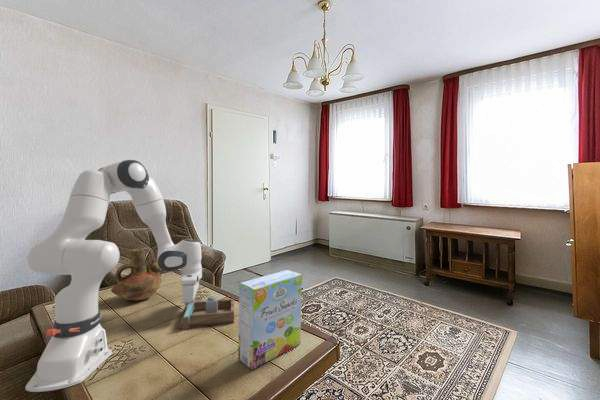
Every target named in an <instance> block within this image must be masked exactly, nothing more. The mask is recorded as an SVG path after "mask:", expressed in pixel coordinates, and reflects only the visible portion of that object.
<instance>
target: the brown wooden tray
mask: <svg viewBox="0 0 600 400" xmlns="http://www.w3.org/2000/svg"><path fill="white" fill-rule="evenodd" d="M188 305H189V303H187V305H186V308H185V309H184V310H185V311H184V313H183V315H182V317H181V320H180V322H179V324H178V330H184V331H185V330H189V329H191V328H195V327H205V326H216V325H225V324H234V323H235V298H226V299H218V312H216V313H206V300H202V301H201V300H200V298H199V297H198V298H195V303H194V305H193V312H192V315H190V320H189V317H185V318H184V315H185V312H186V310H187V308H188Z"/></svg>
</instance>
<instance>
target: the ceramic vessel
mask: <svg viewBox="0 0 600 400" xmlns="http://www.w3.org/2000/svg"><path fill="white" fill-rule="evenodd" d="M146 263H147V262H146V252H145V249H138V248H136V249H134V248H133V249H131V250H130V262H129V263H125V264H122V265H121V266H119V267H118V268H117V269H116V271H115V280H116V283H117V284H115V286H113V287H112V288H111V289H110V292H111V293H112V294H113V295H115V296H118V297H120V298H121V299H124V300H129V301H135V302H137V301H138V302H140V301H143V300H145V299H149V298H150V297H151V296H153V295H155V293H156V292H157V291H158V290H159V288H160V287H161V283H162V274H163V273H166V271H164V270H162V269H161V268H160V267H159V266H158V260H157V258H156V259H153V260H152V261H151V262H150V263H149V266H148V268H147V264H146ZM128 269H129V270H130V273H128V274H127V275H125V276H122V272H123V271H125V270H128Z"/></svg>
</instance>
